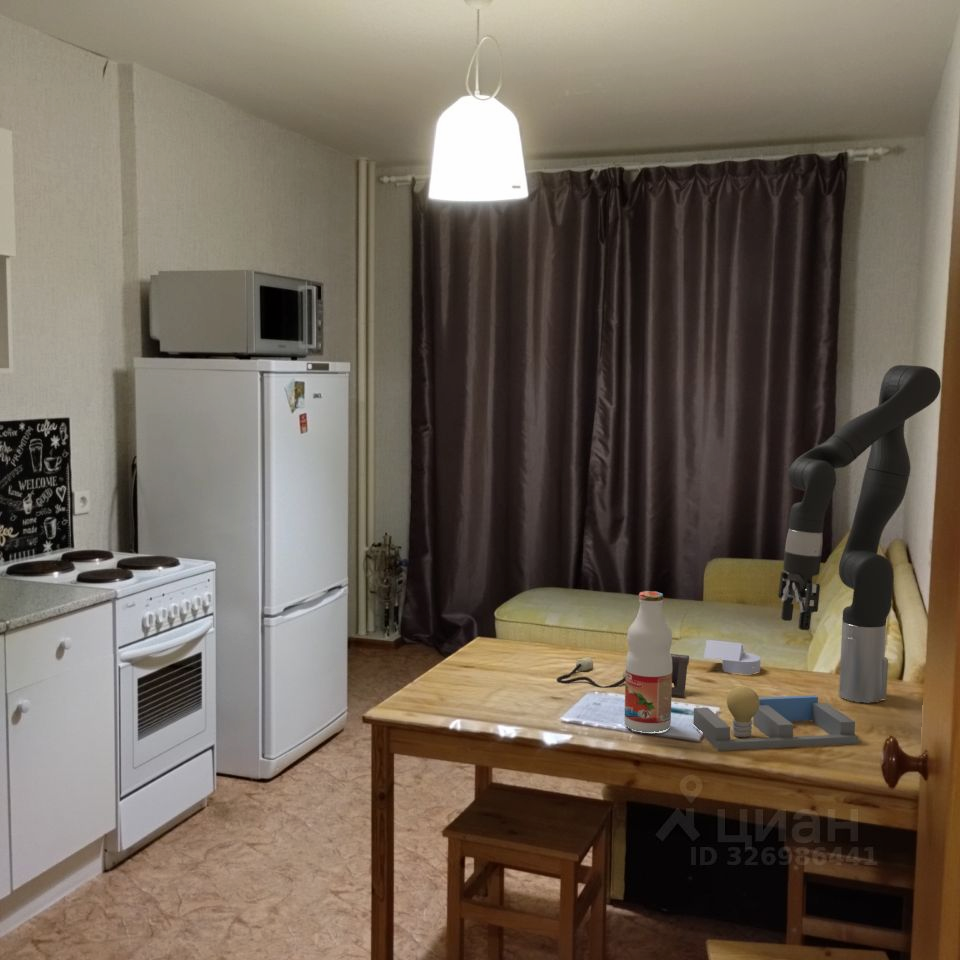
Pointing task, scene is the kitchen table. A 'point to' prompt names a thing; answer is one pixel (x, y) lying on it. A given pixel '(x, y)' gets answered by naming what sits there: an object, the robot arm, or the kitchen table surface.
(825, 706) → the gray e-shaped frame
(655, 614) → the fruit juice
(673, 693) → the portable electronic device stand
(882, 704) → the kitchen table surface
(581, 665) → the cable
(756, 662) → the wedge on round base
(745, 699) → the light bulb
